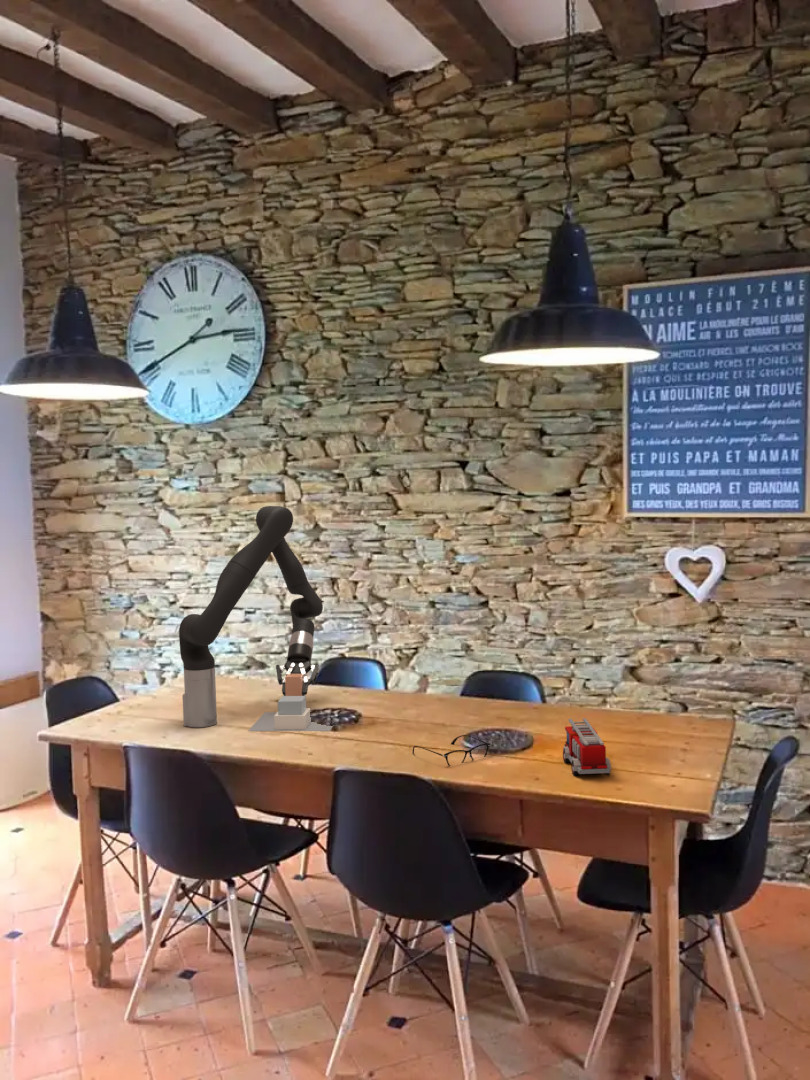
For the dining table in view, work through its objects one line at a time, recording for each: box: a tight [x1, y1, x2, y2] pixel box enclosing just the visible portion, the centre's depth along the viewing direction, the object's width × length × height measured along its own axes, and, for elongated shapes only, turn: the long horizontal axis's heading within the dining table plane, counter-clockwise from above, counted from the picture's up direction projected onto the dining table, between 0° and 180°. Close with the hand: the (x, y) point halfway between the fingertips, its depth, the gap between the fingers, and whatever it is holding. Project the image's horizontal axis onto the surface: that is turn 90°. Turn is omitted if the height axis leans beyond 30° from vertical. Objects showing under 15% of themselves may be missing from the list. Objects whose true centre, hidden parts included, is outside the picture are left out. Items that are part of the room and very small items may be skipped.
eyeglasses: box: [412, 734, 491, 766], centre depth 244 cm, size 16×16×4 cm
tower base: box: [274, 695, 311, 730], centre depth 274 cm, size 9×9×8 cm
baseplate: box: [247, 711, 334, 732], centre depth 279 cm, size 24×22×1 cm
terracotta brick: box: [284, 674, 304, 696], centre depth 285 cm, size 5×5×10 cm
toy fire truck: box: [562, 718, 612, 776], centre depth 230 cm, size 9×19×10 cm, turn 2°
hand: (294, 694), depth 283 cm, fingers closed on terracotta brick, 5 cm apart
